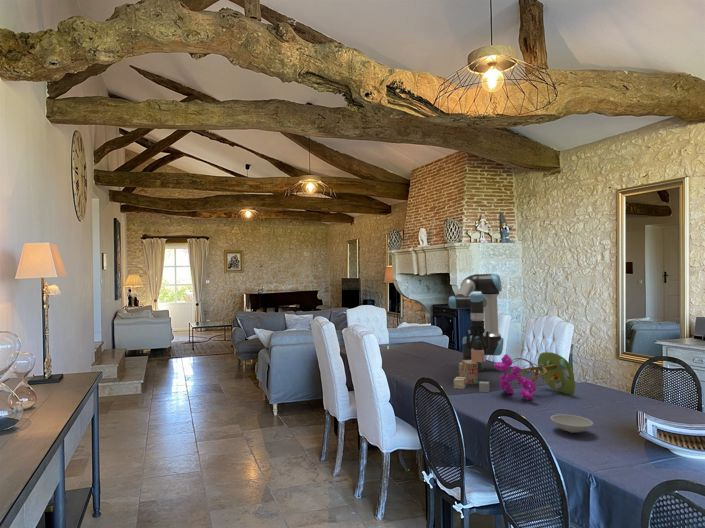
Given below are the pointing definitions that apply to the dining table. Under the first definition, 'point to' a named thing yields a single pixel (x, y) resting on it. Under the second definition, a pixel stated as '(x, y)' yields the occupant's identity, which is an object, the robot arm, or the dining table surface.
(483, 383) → the grey cube
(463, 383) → the beech block
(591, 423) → the dish
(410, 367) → the dining table surface
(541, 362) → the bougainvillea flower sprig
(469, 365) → the stack of blocks
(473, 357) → the terracotta cube
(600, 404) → the dining table surface
